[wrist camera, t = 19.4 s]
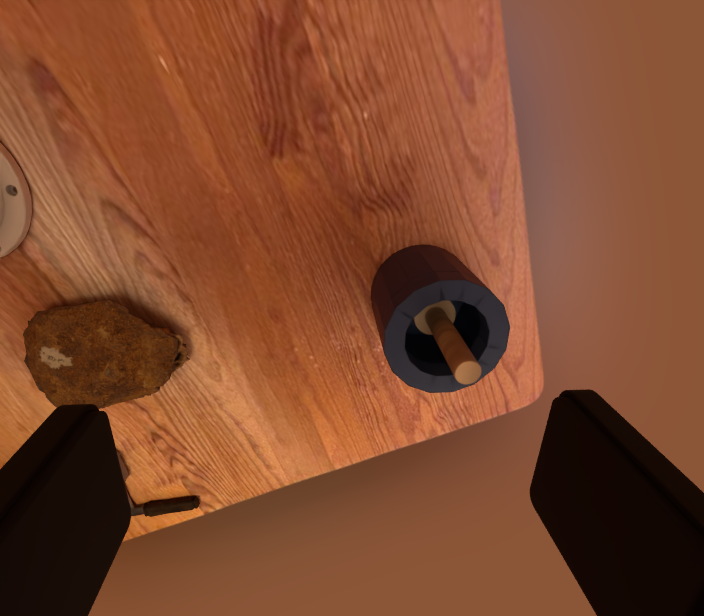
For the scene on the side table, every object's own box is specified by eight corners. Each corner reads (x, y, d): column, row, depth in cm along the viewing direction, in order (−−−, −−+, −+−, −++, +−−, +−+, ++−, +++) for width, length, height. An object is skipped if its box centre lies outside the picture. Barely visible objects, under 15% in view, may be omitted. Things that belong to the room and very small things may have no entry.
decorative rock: (163, 271, 39) (19, 311, 40) (143, 284, 35) (-15, 328, 36) (210, 374, 43) (78, 408, 44) (197, 397, 39) (52, 433, 40)
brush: (403, 312, 41) (438, 397, 28) (405, 277, 39) (443, 349, 27) (439, 311, 41) (491, 395, 28) (442, 276, 40) (499, 348, 27)
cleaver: (53, 489, 48) (68, 523, 50) (47, 496, 47) (62, 530, 49) (190, 469, 48) (201, 503, 50) (187, 476, 47) (198, 510, 49)
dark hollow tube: (369, 337, 43) (382, 394, 33) (372, 245, 39) (386, 281, 30) (462, 335, 43) (499, 390, 34) (473, 243, 39) (518, 279, 30)
